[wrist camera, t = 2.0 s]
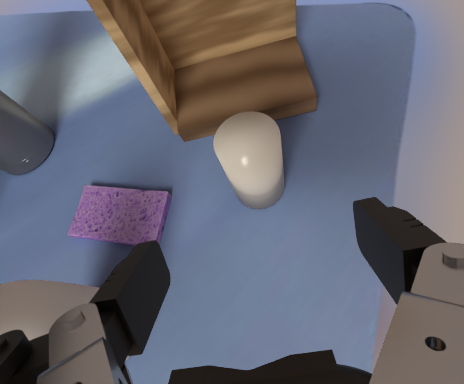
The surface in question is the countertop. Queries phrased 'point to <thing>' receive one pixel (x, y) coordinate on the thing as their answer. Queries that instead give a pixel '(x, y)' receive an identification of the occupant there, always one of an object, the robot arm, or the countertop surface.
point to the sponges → (120, 215)
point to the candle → (252, 158)
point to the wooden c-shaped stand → (212, 58)
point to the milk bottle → (39, 304)
